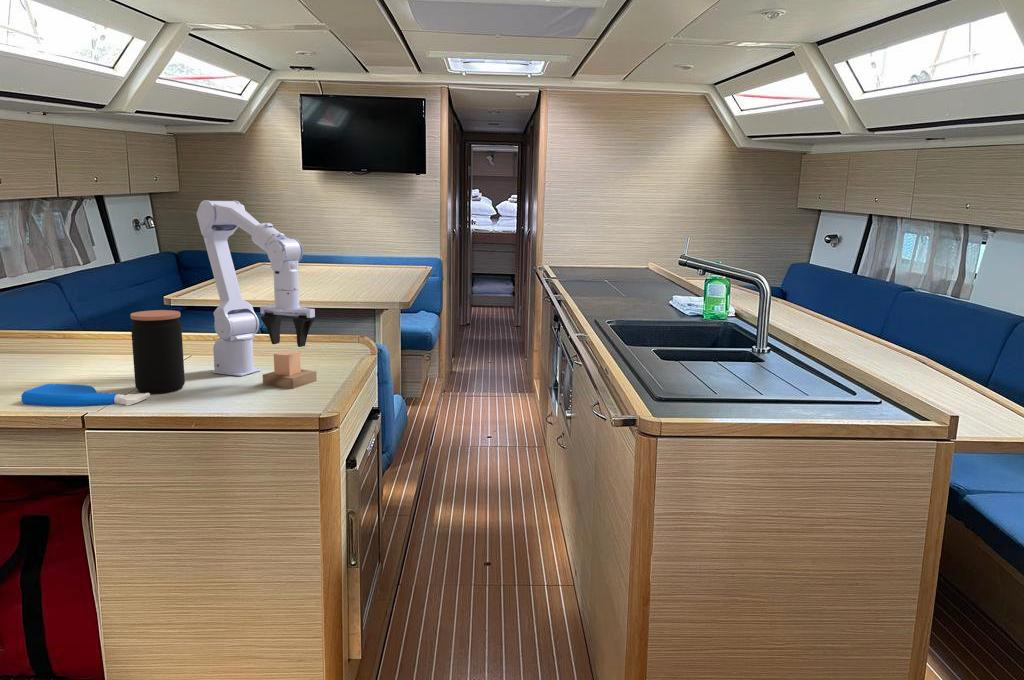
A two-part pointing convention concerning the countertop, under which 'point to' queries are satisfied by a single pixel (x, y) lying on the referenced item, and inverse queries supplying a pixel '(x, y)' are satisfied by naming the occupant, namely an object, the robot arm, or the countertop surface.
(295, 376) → the walnut box
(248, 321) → the robot arm
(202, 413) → the countertop surface
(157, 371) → the coffee jar
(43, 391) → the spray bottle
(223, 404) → the countertop surface
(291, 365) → the peach block
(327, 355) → the countertop surface
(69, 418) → the countertop surface
